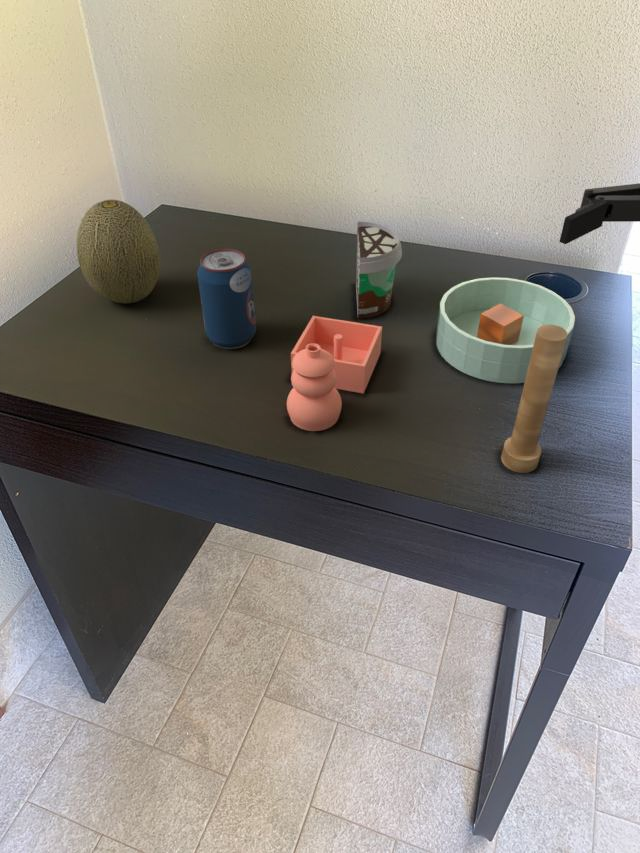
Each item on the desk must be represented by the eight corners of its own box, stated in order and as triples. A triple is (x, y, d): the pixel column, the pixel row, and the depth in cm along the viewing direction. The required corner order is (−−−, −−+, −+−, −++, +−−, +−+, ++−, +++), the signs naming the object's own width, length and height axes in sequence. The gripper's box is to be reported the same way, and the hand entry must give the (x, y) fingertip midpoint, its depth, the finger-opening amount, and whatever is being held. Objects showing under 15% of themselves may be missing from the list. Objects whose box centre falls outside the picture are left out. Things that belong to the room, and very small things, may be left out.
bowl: (591, 349, 92) (602, 314, 88) (509, 401, 84) (517, 365, 80) (491, 298, 102) (497, 265, 98) (409, 340, 94) (413, 305, 90)
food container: (401, 324, 97) (406, 259, 90) (358, 324, 97) (360, 260, 90) (395, 280, 106) (399, 219, 100) (355, 280, 106) (357, 219, 100)
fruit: (97, 325, 98) (71, 226, 88) (83, 288, 105) (58, 194, 95) (175, 307, 101) (158, 210, 91) (156, 273, 109) (139, 180, 99)
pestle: (545, 462, 76) (582, 333, 65) (522, 478, 74) (557, 349, 63) (516, 443, 78) (547, 316, 67) (493, 458, 76) (522, 330, 65)
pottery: (313, 341, 94) (312, 277, 87) (380, 353, 92) (384, 288, 85) (267, 424, 81) (261, 356, 75) (344, 439, 79) (345, 371, 72)
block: (518, 340, 93) (524, 315, 90) (499, 351, 91) (504, 326, 88) (495, 328, 95) (500, 303, 92) (476, 338, 93) (480, 313, 90)
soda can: (265, 342, 94) (259, 263, 86) (218, 357, 91) (207, 277, 83) (244, 319, 98) (236, 241, 90) (199, 332, 96) (187, 254, 88)
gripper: (835, 268, 71) (736, 343, 61) (622, 194, 86) (514, 245, 76) (872, 198, 66) (772, 267, 56) (640, 132, 81) (527, 178, 71)
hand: (624, 254), depth 66 cm, fingers open, 13 cm apart
